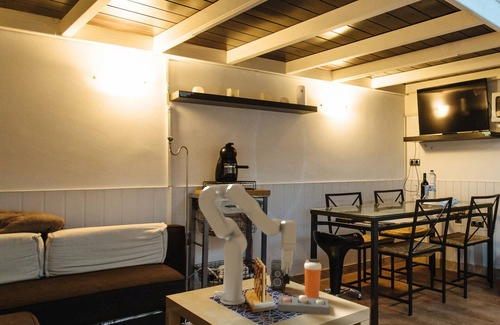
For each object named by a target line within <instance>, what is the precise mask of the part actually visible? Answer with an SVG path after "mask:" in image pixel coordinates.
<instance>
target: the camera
mask: <svg viewBox="0 0 500 325" xmlns="http://www.w3.org/2000/svg"><path fill="white" fill-rule="evenodd" d="M281 261H282V259H272V261H271V262H270V273H269V281H270V289H272V290H282V291H284V290H285V289H286V287H287V284H283V275H284V270H281Z"/></svg>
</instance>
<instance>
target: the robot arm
mask: <svg viewBox="0 0 500 325" xmlns="http://www.w3.org/2000/svg"><path fill="white" fill-rule="evenodd" d="M219 201H230V202H231V203H232V204H234V206H235V207H237V208H238V209H239V210H240V211H242V212H243V213H244V214H245V215H246V216H247V218H248V219H249V220H250V221H251V222H252V223H253V225H255V227H257V228H258V229H259V230H260V231H261V232H262V233H264V234H265V235H266V236H268V237H275V236H277V235H278V234H280V249H281V260H282V261H281V270H284V275H283V284H286V285H291V284H290V283H291V281H290V279H291V274H290V272H291V271H292V266H293V260H294V259H293V257H294V251H296V250H297V230H298V228H297V227H298V224H297V223H298V222H296V221H295V220H290V219H287V220H285V219H279V218H275V217H274V218H271V217H270V216H269V215H268V214H266V213H265V212H264V211H263V209H262V208H261V205H260V204H259V201H257V200H256V199H255V198H254V197H252V195H250V194H249V193H248V192H247V191H246V188H245V187H244V186H243V185H242V184H240V183H232V184H231V183H229V184H214V185H208V186H206V187H204V188H203V189H202V190H201V192H200V193H199V197H198V207H199V210H200V211H201V213H202V214H203V216H204V217H205V220H206V221H207V223H208V224H209V226H210V228H211V230H212V231H213V232H214V234H215V236H216V237H217V238H219V239H225V243H224V244H223V245H224V246H223V286H222V288H223V290H221V291H219V290H218V291H217V290H215V291H214V296H215V297H219V302H220V303H222V304H225V305H230V306H232V305H233V306H236V305H241V304H244V303H245V302H246V297H244V296H243V278H244V260H243V259H244V258H243V257H244V256H243V253H244V252H245V251H246V249H247V247H248V242H247V241H248V240H247V239H246V237H245V235H244V234H243V232H242V230H241V229H240V227H239V225H238V223H237V222H235V220H234V219H232V218H231V217H226V216H225V215H224V213H223V211H222V210H221V208H219V206H218V205H217V203H216V202H219Z"/></svg>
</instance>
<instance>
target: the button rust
mask: <svg viewBox="0 0 500 325" xmlns="http://www.w3.org/2000/svg"><path fill="white" fill-rule="evenodd" d="M287 297H288V296H287ZM287 297H285V298H283V300H282V302H290V303H291V299H290V298H287Z"/></svg>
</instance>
